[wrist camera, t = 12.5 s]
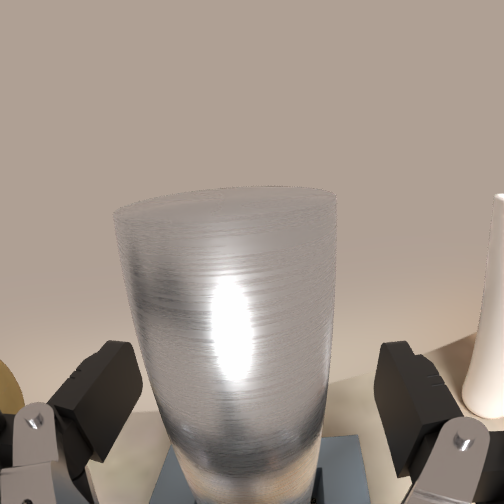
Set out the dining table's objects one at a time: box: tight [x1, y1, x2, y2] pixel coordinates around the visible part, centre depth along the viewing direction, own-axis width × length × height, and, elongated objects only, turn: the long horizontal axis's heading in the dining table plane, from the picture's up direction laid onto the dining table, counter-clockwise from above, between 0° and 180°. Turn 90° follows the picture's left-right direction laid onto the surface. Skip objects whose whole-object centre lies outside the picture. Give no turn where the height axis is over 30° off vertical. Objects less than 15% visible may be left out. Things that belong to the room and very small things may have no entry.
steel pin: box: [113, 186, 337, 504], centre depth 8 cm, size 4×4×16 cm
